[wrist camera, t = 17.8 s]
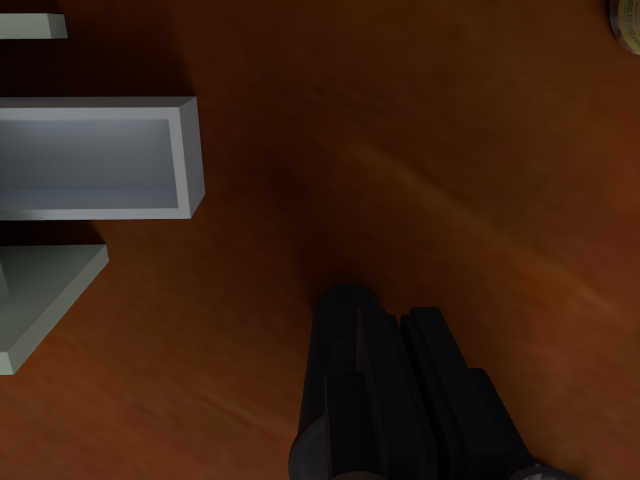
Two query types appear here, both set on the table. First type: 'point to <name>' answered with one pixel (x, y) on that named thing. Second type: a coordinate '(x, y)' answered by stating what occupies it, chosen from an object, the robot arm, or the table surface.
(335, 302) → the drinking cup
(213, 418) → the table surface
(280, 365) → the table surface
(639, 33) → the sauce bottle
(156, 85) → the table surface
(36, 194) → the tray
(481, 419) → the robot arm
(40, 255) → the shelf slot
